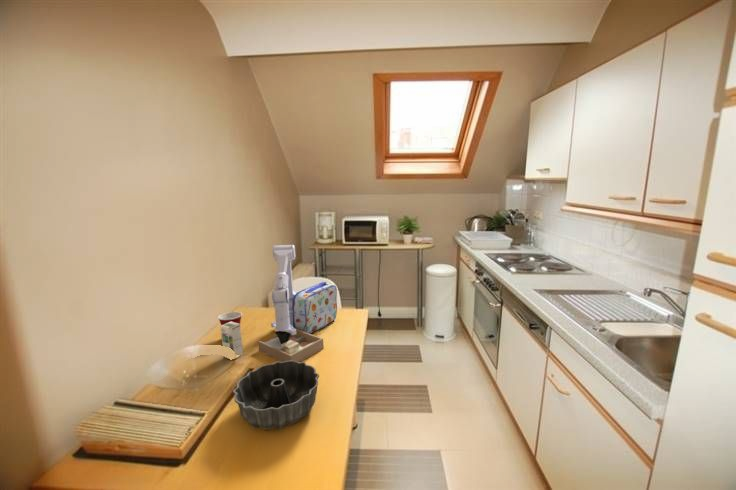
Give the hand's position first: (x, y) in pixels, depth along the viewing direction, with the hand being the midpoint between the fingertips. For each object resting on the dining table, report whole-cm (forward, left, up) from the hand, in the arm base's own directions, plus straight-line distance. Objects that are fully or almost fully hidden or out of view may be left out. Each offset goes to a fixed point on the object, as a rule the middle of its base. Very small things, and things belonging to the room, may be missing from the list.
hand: (284, 346), depth 143 cm
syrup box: (-16, -14, -3) cm, 22 cm away
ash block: (+4, 0, -1) cm, 4 cm away
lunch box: (-9, +27, -3) cm, 29 cm away
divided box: (0, +4, -3) cm, 5 cm away
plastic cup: (-32, -5, -3) cm, 33 cm away
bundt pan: (+28, -24, -4) cm, 37 cm away
